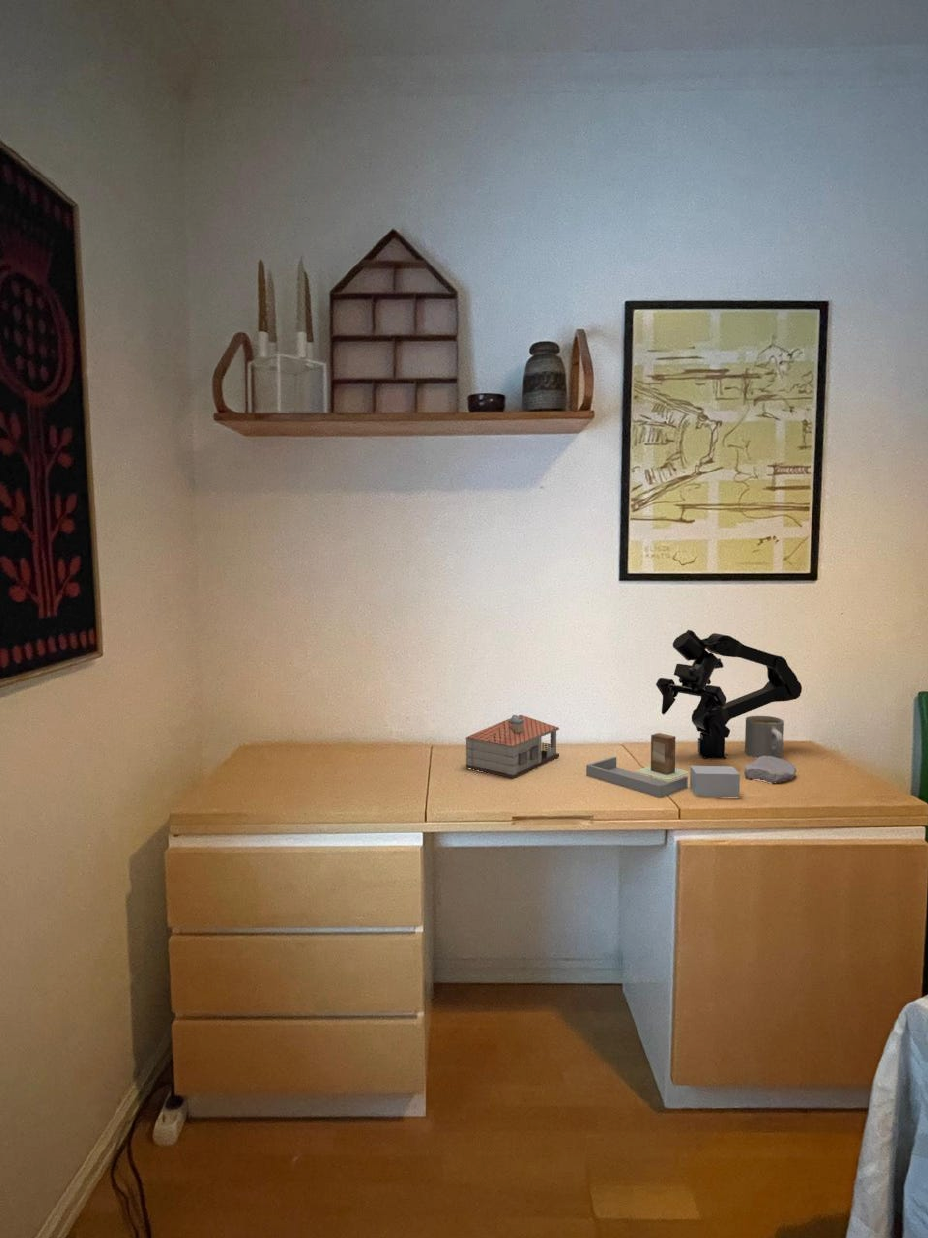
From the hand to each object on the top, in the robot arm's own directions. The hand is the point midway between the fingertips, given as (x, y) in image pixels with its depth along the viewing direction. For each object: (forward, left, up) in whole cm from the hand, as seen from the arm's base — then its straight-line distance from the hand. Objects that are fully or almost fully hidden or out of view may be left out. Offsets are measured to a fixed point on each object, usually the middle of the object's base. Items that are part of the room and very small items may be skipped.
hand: (677, 716), depth 193 cm
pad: (+5, +6, -14) cm, 16 cm away
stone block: (-22, +8, -14) cm, 28 cm away
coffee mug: (-27, -11, -14) cm, 32 cm away
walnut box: (+5, +6, -13) cm, 15 cm away
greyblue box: (-4, +22, -14) cm, 26 cm away
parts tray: (+13, +14, -14) cm, 23 cm away
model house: (+44, 0, -14) cm, 46 cm away
